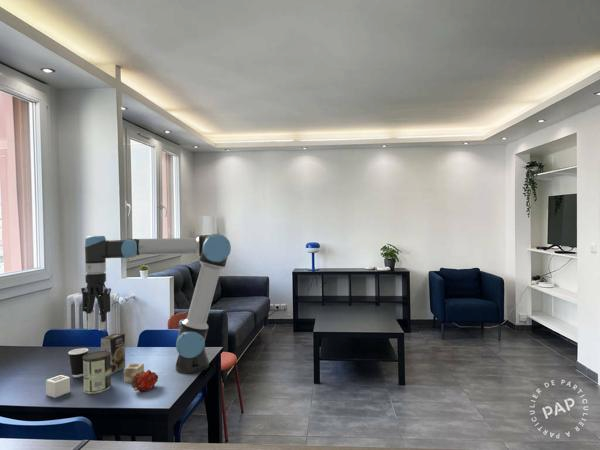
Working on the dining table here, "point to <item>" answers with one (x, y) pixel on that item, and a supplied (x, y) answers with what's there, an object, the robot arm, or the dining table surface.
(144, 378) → the dragon fruit
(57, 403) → the dining table surface
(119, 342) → the coffee box
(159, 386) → the dining table surface
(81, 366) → the dixie cup
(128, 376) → the birch block
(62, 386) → the off-white block
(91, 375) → the coffee can
